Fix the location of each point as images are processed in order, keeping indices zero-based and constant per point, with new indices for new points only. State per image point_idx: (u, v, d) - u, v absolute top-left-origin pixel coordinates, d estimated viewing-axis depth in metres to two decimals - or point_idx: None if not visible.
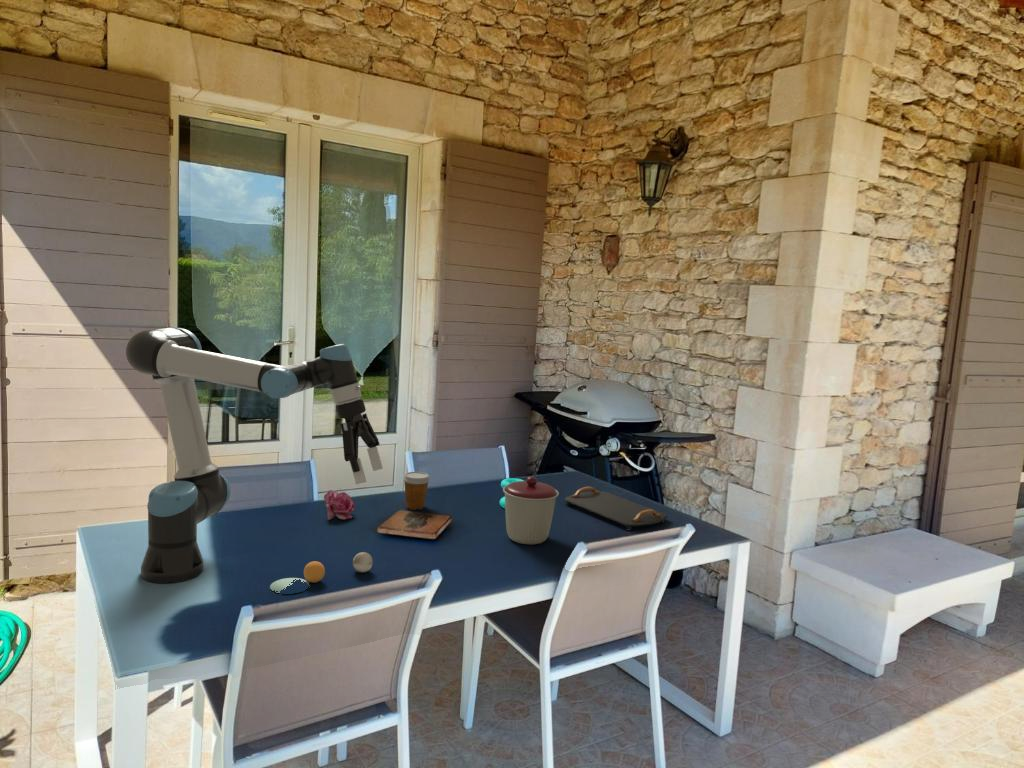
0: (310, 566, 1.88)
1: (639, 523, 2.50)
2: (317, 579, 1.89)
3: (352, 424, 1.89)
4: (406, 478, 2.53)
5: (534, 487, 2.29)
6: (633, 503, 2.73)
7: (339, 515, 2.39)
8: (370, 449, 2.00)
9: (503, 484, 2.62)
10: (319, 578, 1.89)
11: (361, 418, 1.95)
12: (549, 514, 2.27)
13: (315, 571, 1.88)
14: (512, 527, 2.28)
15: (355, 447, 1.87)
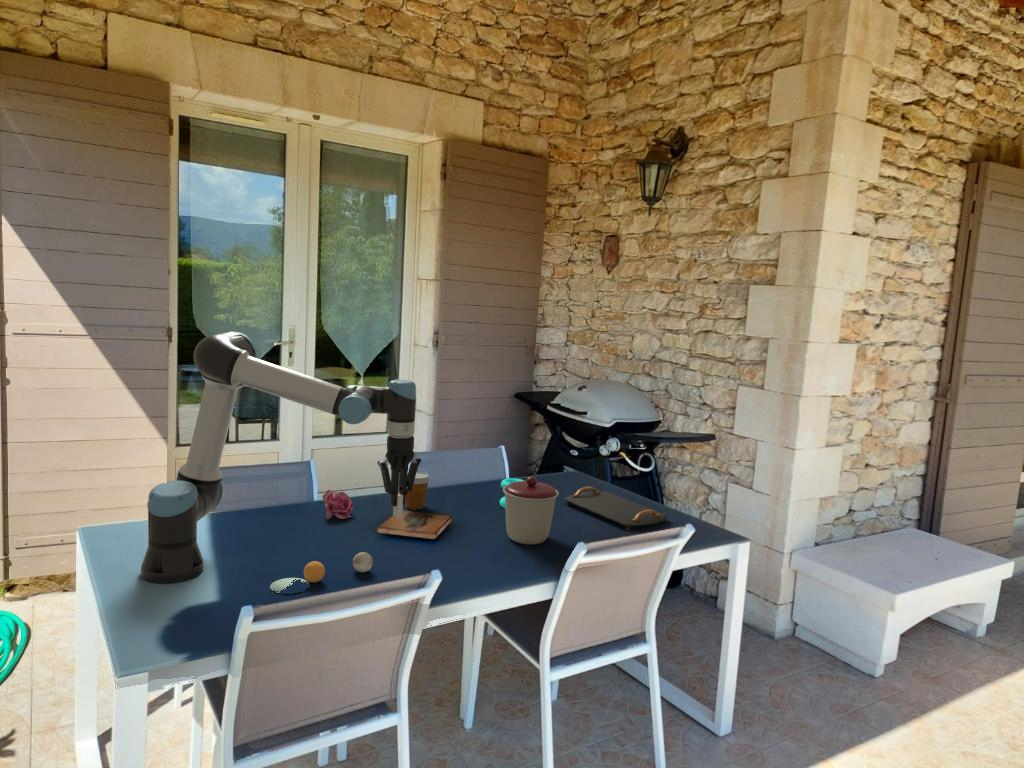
0: (310, 566, 1.88)
1: (638, 523, 2.50)
2: (317, 579, 1.89)
3: (389, 460, 1.98)
4: None
5: (534, 487, 2.29)
6: (633, 503, 2.72)
7: (338, 515, 2.39)
8: None
9: (503, 484, 2.62)
10: (319, 578, 1.89)
11: (410, 453, 2.01)
12: (549, 514, 2.27)
13: (315, 571, 1.88)
14: (512, 527, 2.28)
15: (394, 484, 2.00)
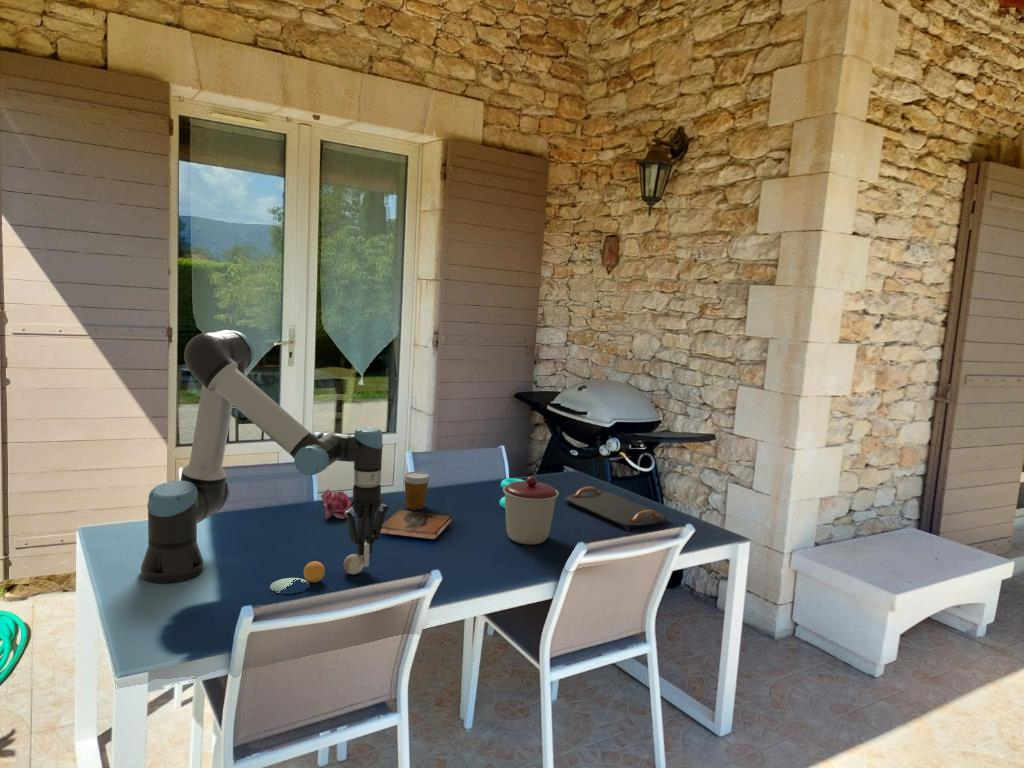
0: (310, 566, 1.88)
1: (637, 523, 2.50)
2: (317, 579, 1.89)
3: (355, 509, 1.94)
4: (406, 478, 2.53)
5: (534, 487, 2.29)
6: (634, 503, 2.72)
7: (337, 514, 2.40)
8: None
9: (503, 484, 2.62)
10: (319, 578, 1.89)
11: (377, 502, 1.98)
12: (549, 514, 2.27)
13: (315, 571, 1.88)
14: (512, 527, 2.28)
15: (361, 534, 1.96)
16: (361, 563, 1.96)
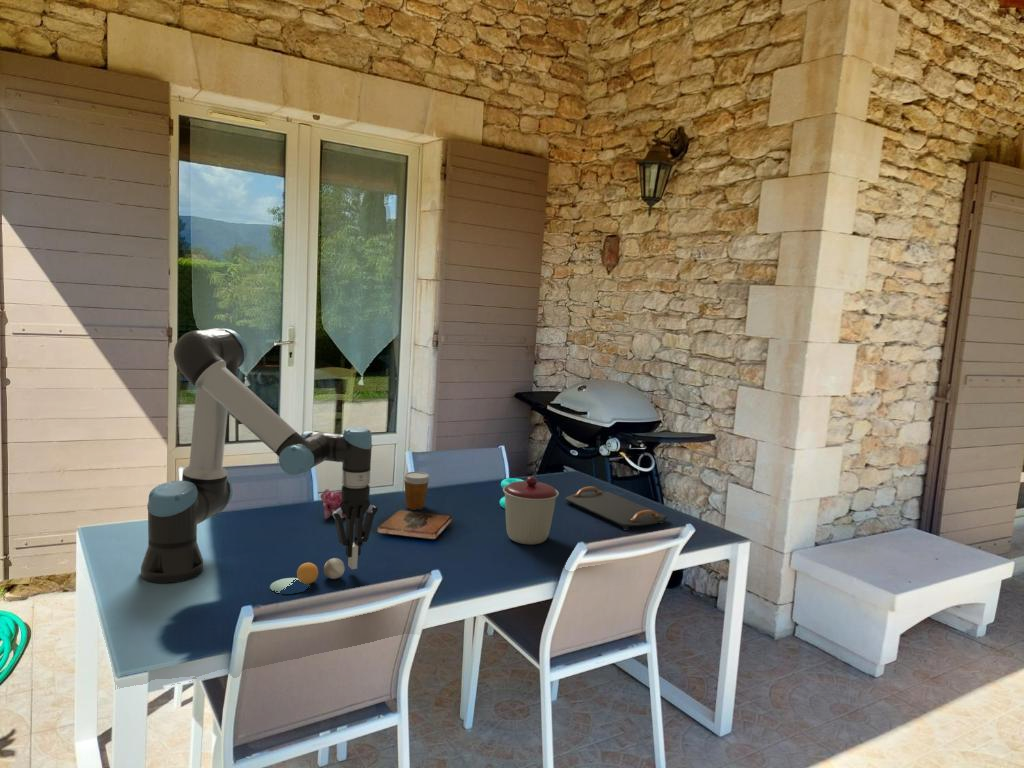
0: (299, 573, 1.87)
1: (636, 523, 2.50)
2: (313, 579, 1.88)
3: (343, 510, 1.92)
4: (406, 478, 2.53)
5: (534, 487, 2.29)
6: (634, 504, 2.72)
7: None
8: None
9: (503, 484, 2.62)
10: (314, 577, 1.88)
11: (366, 503, 1.95)
12: (549, 514, 2.27)
13: (306, 575, 1.86)
14: (512, 527, 2.28)
15: (349, 535, 1.94)
16: (334, 569, 1.91)
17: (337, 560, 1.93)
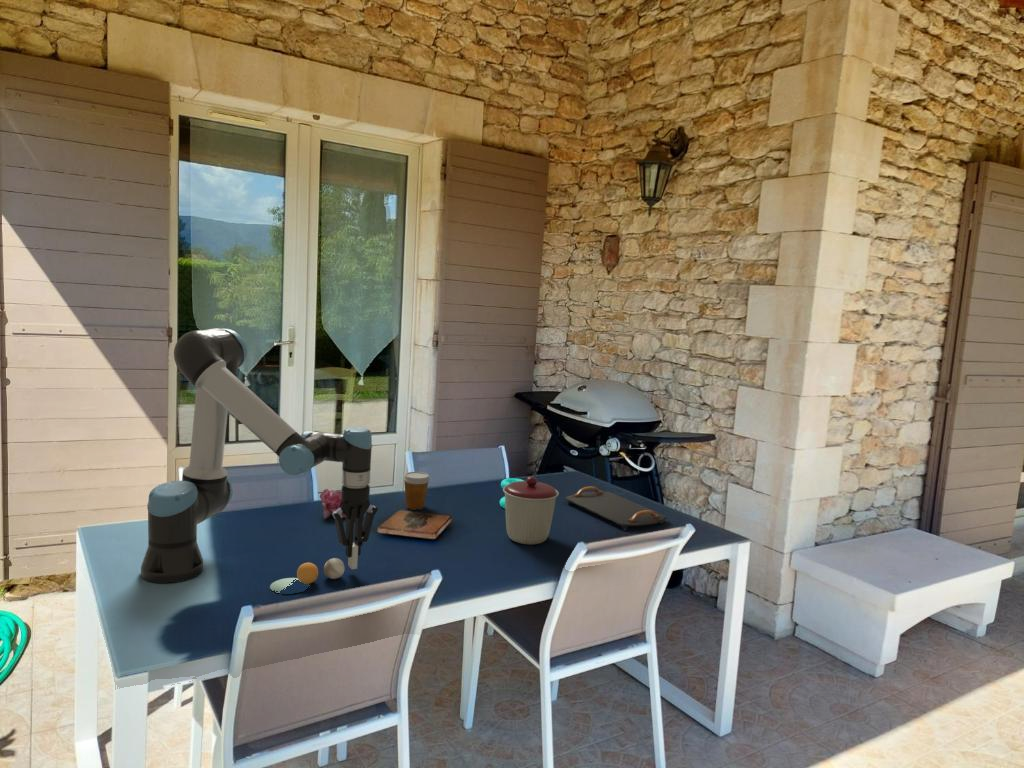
0: (299, 573, 1.87)
1: (635, 523, 2.49)
2: (313, 579, 1.88)
3: (343, 510, 1.92)
4: (406, 478, 2.53)
5: (534, 487, 2.29)
6: (635, 504, 2.72)
7: None
8: None
9: (503, 484, 2.62)
10: (314, 577, 1.88)
11: (366, 503, 1.95)
12: (549, 514, 2.27)
13: (306, 575, 1.86)
14: (512, 527, 2.28)
15: (349, 535, 1.94)
16: (334, 569, 1.91)
17: (337, 560, 1.93)
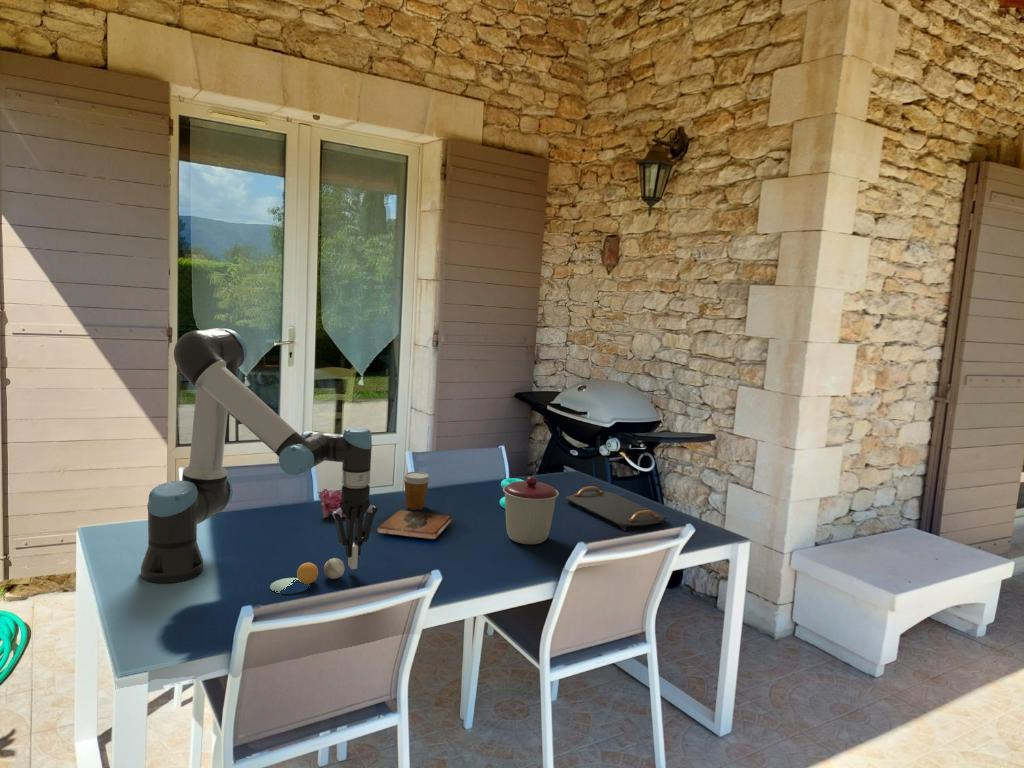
0: (299, 573, 1.87)
1: (634, 523, 2.49)
2: (313, 579, 1.88)
3: (343, 510, 1.92)
4: (406, 478, 2.53)
5: (534, 487, 2.29)
6: (635, 504, 2.72)
7: None
8: None
9: (503, 484, 2.62)
10: (314, 577, 1.88)
11: (366, 503, 1.95)
12: (549, 514, 2.27)
13: (306, 575, 1.86)
14: (512, 527, 2.28)
15: (349, 535, 1.94)
16: (334, 569, 1.91)
17: (337, 560, 1.93)
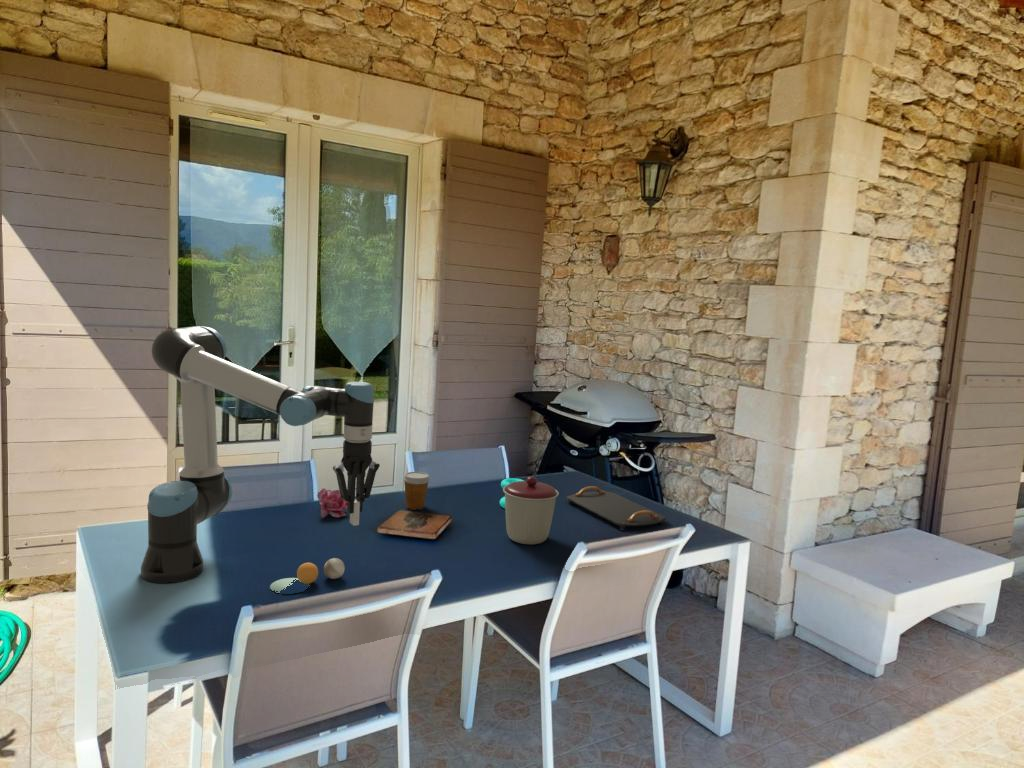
0: (299, 573, 1.87)
1: (633, 523, 2.49)
2: (313, 579, 1.88)
3: (345, 465, 1.90)
4: (406, 478, 2.53)
5: (534, 487, 2.29)
6: (635, 504, 2.71)
7: (333, 513, 2.41)
8: None
9: (503, 484, 2.62)
10: (314, 577, 1.88)
11: (368, 459, 1.94)
12: (549, 514, 2.27)
13: (306, 575, 1.86)
14: (512, 527, 2.28)
15: (351, 491, 1.92)
16: (334, 569, 1.91)
17: (337, 560, 1.93)
